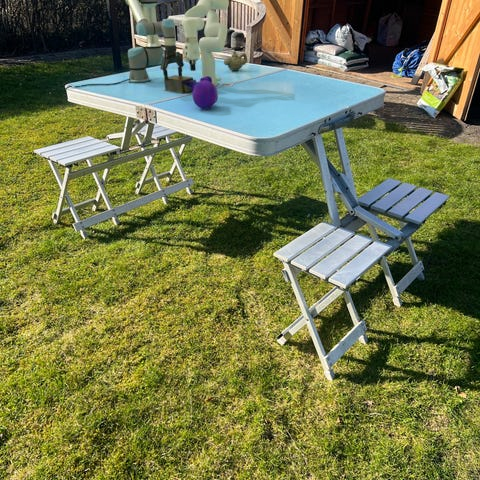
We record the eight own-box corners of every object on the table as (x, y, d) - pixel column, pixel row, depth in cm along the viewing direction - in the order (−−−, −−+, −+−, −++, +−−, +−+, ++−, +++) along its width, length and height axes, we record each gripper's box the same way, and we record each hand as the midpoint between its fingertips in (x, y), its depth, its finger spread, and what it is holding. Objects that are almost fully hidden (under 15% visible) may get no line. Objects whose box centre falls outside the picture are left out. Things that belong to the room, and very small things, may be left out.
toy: (205, 99, 283) (218, 114, 263) (178, 94, 276) (189, 110, 255) (211, 73, 275) (224, 87, 254) (183, 68, 268) (194, 82, 247)
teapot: (227, 73, 361) (227, 53, 353) (221, 70, 369) (220, 51, 362) (250, 70, 370) (250, 50, 362) (243, 68, 378) (242, 49, 371)
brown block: (193, 90, 308) (193, 77, 304) (182, 93, 301) (181, 80, 296) (176, 87, 317) (175, 75, 313) (165, 90, 310) (164, 77, 305)
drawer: (202, 90, 303) (202, 80, 299) (192, 93, 296) (192, 83, 293) (180, 87, 314) (179, 77, 310) (170, 89, 307) (169, 79, 304)
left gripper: (160, 47, 286) (164, 82, 297) (187, 43, 304) (189, 76, 314) (152, 46, 291) (156, 81, 301) (179, 42, 308) (182, 75, 318)
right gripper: (187, 41, 278) (189, 72, 287) (203, 39, 288) (204, 69, 297) (178, 41, 282) (181, 71, 291) (194, 38, 292) (196, 68, 301)
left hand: (173, 78), depth 308 cm, fingers open, 13 cm apart
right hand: (193, 70), depth 294 cm, fingers closed
